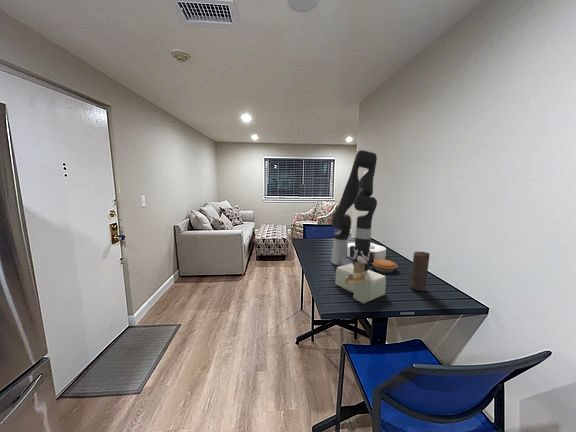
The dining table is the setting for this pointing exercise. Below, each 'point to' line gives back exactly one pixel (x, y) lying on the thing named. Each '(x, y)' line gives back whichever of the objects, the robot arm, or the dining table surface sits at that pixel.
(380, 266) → the pie
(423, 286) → the candle
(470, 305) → the dining table surface
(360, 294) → the light green open box
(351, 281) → the tan tapered bar
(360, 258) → the white knobbed disc
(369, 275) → the lid
